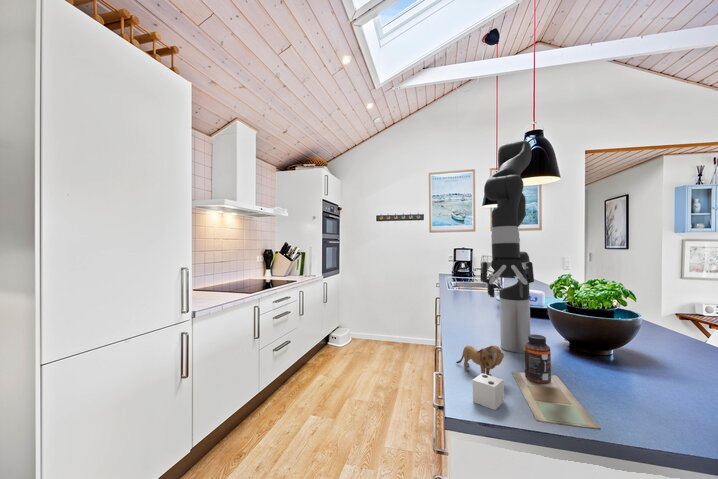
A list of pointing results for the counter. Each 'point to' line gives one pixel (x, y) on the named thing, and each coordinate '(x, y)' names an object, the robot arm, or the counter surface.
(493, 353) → the lion figurine
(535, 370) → the supplement bottle
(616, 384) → the counter surface
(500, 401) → the die
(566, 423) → the game board
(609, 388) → the counter surface
